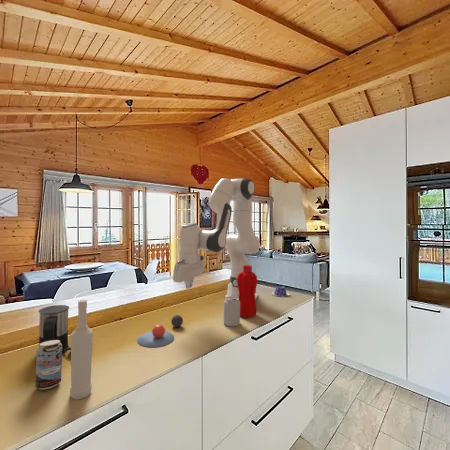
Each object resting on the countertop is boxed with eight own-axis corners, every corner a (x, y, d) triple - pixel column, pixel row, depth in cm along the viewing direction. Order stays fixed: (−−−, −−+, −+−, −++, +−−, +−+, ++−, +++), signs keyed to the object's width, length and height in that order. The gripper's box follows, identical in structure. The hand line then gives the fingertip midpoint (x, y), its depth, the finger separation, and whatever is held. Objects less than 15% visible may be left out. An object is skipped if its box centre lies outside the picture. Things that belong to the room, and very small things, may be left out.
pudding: (293, 297, 170) (293, 288, 170) (276, 298, 166) (276, 289, 166) (283, 291, 182) (284, 284, 181) (267, 292, 178) (268, 285, 178)
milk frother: (36, 349, 95) (36, 307, 94) (85, 337, 105) (86, 299, 105) (40, 366, 84) (41, 319, 84) (95, 352, 94) (95, 310, 94)
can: (238, 328, 118) (239, 301, 118) (221, 326, 119) (222, 299, 119) (240, 321, 125) (241, 296, 125) (225, 320, 127) (225, 295, 127)
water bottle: (247, 320, 127) (249, 268, 126) (233, 313, 136) (234, 264, 135) (261, 317, 132) (263, 266, 132) (247, 310, 141) (248, 263, 141)
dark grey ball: (168, 318, 116) (169, 328, 117) (177, 320, 114) (178, 330, 115) (175, 312, 120) (177, 321, 121) (184, 313, 118) (185, 324, 119)
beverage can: (35, 396, 70) (35, 351, 70) (35, 382, 76) (35, 340, 76) (63, 388, 74) (63, 345, 74) (60, 375, 80) (61, 335, 80)
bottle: (66, 395, 71) (67, 301, 70) (85, 385, 75) (86, 296, 75) (76, 402, 68) (77, 305, 68) (95, 392, 72) (97, 300, 72)
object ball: (150, 324, 106) (148, 337, 105) (160, 327, 103) (158, 340, 103) (158, 322, 110) (157, 335, 109) (168, 324, 108) (166, 337, 107)
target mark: (154, 328, 115) (154, 328, 115) (181, 336, 108) (181, 335, 108) (129, 341, 102) (129, 341, 102) (157, 350, 96) (157, 350, 96)
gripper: (181, 262, 113) (181, 294, 114) (206, 255, 132) (206, 283, 132) (169, 261, 116) (169, 292, 117) (195, 254, 134) (195, 282, 135)
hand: (189, 287), depth 125 cm, fingers closed
